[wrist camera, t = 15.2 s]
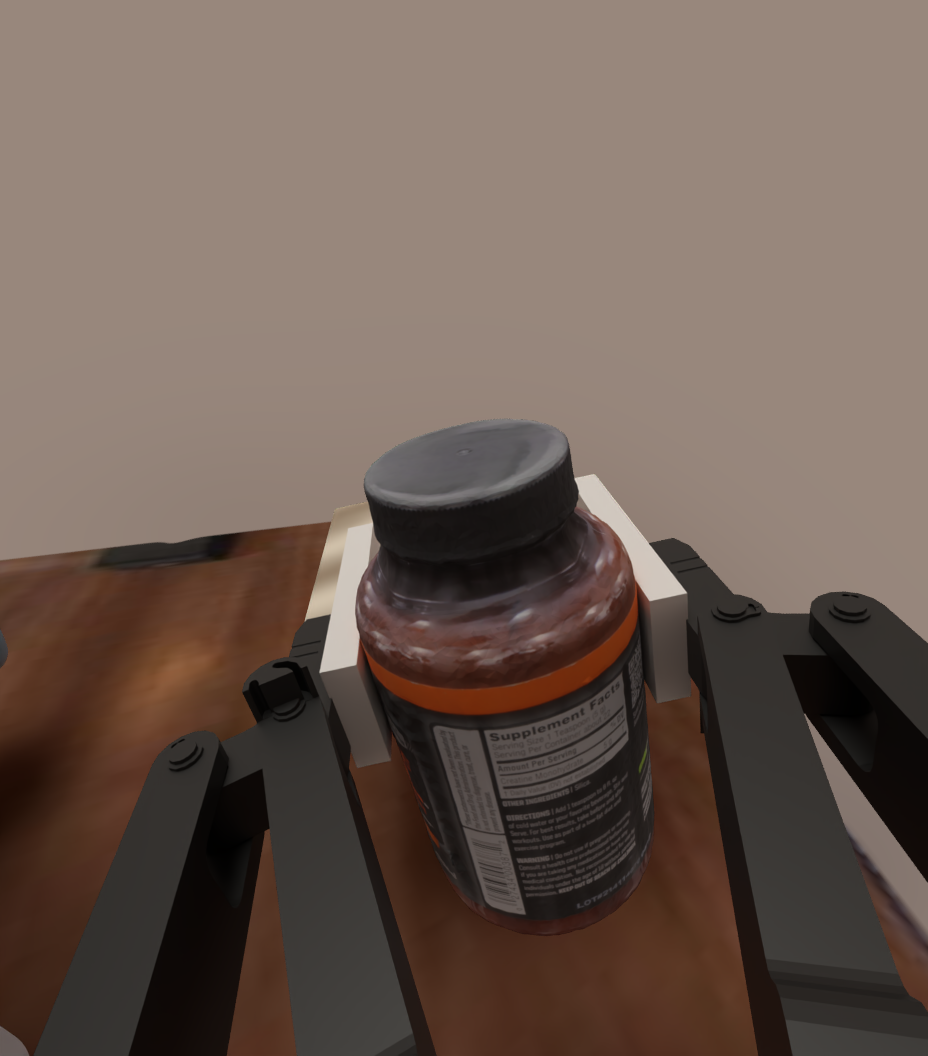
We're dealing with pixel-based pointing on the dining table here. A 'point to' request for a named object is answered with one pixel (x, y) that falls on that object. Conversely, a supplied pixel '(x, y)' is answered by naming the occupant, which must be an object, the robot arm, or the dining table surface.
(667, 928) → the dining table surface
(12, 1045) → the plastic bottle
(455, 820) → the supplement bottle
